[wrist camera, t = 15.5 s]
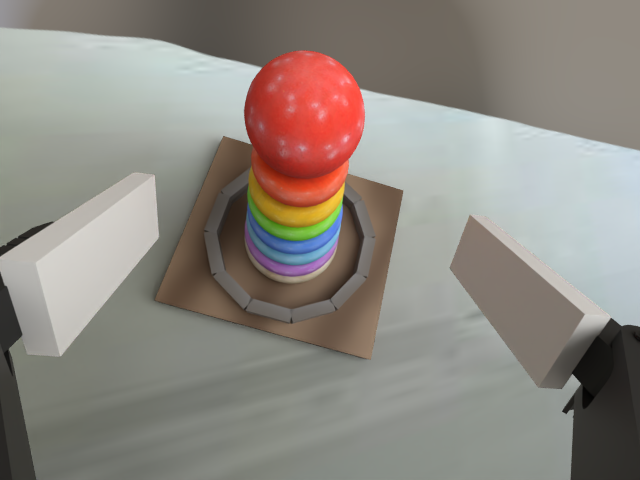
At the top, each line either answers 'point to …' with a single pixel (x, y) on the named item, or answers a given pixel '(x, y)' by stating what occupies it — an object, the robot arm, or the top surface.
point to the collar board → (272, 296)
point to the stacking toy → (299, 162)
